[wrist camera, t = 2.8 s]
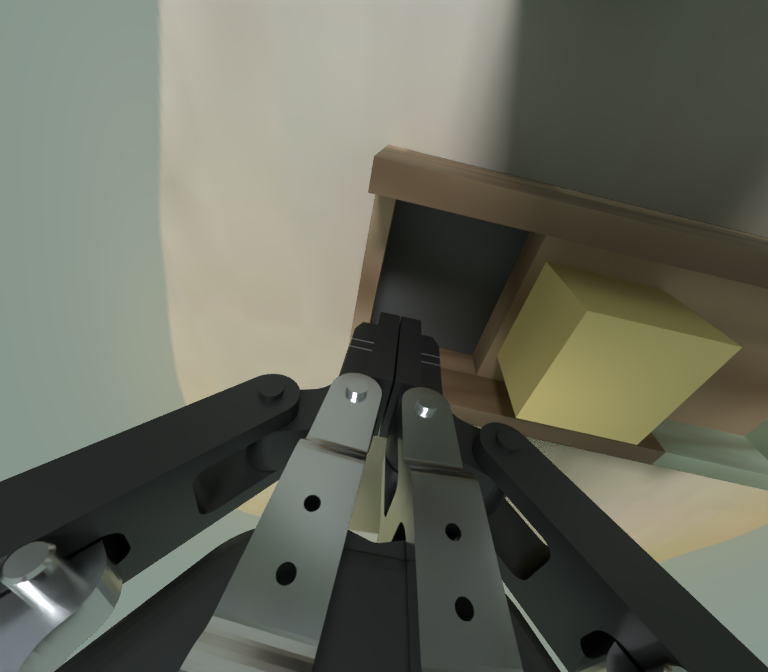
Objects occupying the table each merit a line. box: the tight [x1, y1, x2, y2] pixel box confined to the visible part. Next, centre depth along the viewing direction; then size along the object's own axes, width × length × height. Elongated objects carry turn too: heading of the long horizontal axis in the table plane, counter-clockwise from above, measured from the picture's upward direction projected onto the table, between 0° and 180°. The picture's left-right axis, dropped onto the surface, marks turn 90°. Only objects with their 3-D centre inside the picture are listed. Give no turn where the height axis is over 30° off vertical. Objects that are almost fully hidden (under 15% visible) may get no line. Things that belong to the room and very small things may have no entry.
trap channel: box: [339, 145, 768, 490], centre depth 14 cm, size 10×23×6 cm, turn 78°
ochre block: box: [497, 262, 742, 445], centre depth 13 cm, size 5×5×4 cm
